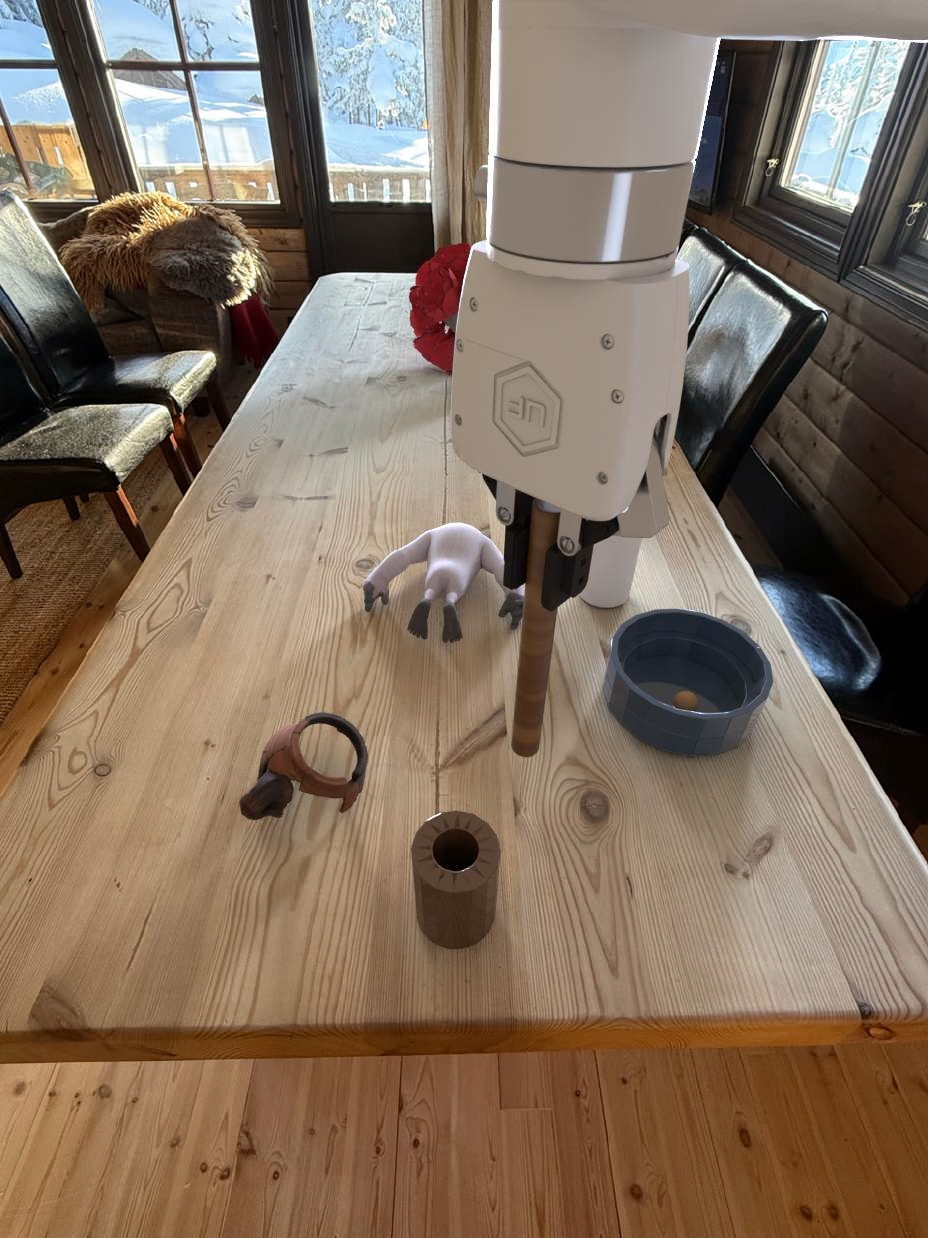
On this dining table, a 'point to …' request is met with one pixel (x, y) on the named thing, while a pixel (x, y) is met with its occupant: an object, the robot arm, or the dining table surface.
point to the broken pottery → (301, 770)
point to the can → (611, 571)
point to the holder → (455, 878)
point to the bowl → (686, 681)
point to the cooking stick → (534, 635)
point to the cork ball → (686, 701)
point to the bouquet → (438, 303)
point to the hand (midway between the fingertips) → (543, 586)
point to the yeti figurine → (444, 575)
